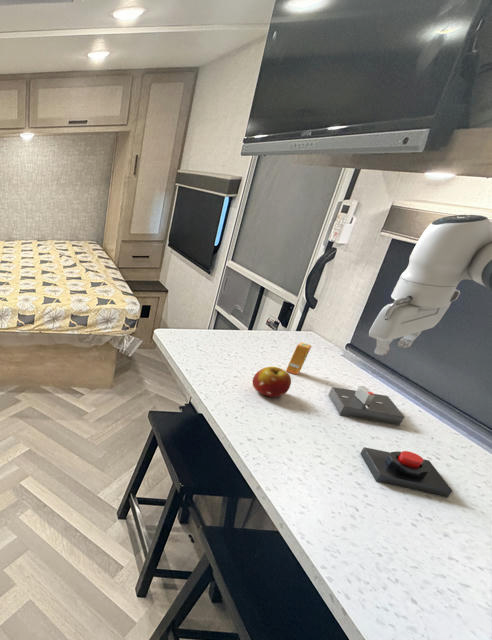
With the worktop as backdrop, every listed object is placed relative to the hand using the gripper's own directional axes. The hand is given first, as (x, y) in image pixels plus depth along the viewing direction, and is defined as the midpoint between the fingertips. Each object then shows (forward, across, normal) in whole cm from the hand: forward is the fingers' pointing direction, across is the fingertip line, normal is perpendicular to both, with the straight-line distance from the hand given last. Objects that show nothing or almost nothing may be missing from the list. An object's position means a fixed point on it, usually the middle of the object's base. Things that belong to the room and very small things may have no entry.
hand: (391, 350), depth 93 cm
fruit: (+24, -2, +21) cm, 32 cm away
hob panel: (+24, +14, +4) cm, 28 cm away
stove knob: (+21, +13, +5) cm, 25 cm away
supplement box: (+24, +18, +26) cm, 40 cm away
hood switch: (+24, -7, -14) cm, 29 cm away
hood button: (+20, -7, -14) cm, 26 cm away
